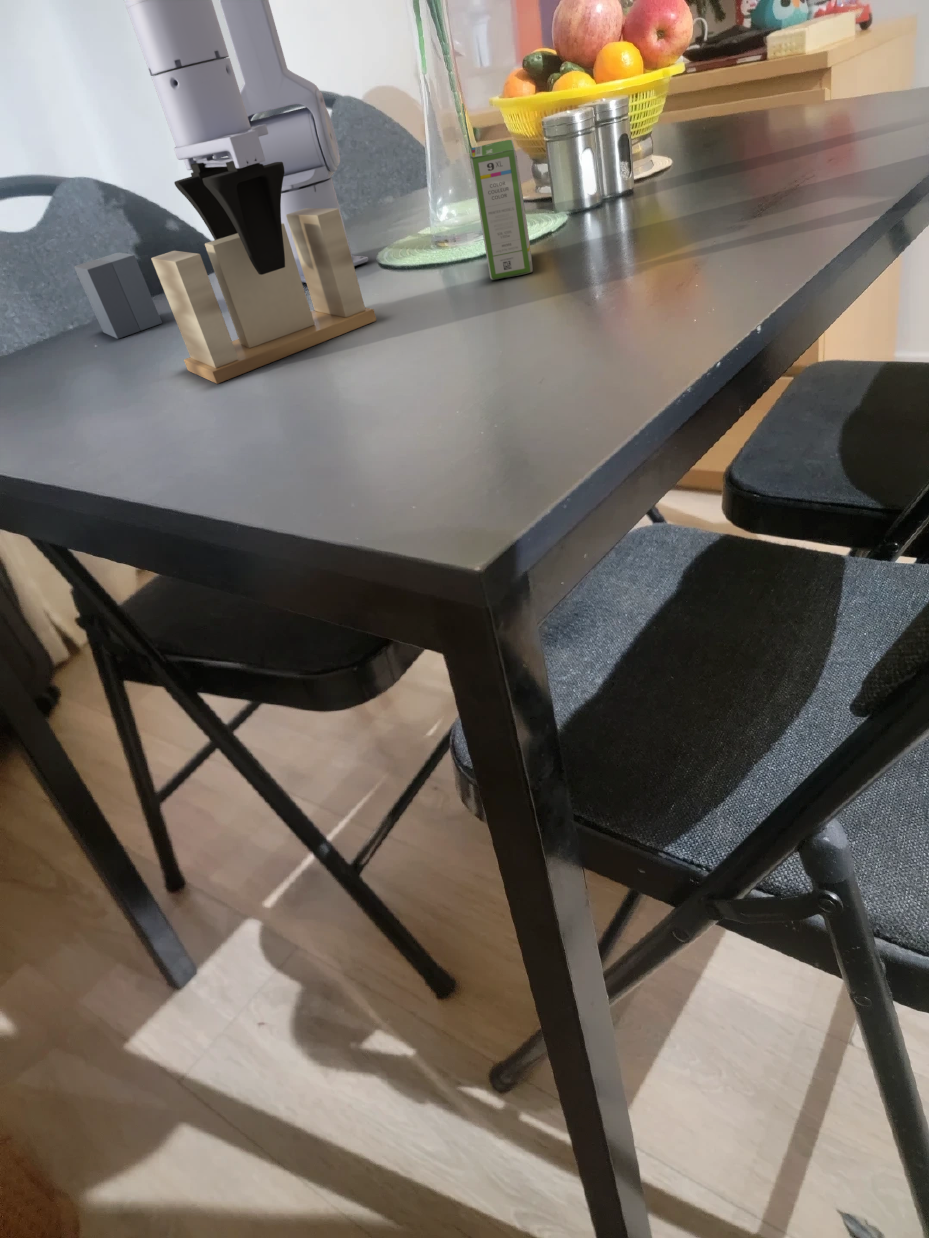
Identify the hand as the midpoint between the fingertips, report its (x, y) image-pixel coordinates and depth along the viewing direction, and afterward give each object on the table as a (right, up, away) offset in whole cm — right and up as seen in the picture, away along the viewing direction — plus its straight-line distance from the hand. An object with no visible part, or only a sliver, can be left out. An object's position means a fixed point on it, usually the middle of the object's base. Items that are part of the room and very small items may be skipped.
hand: (256, 266), depth 66 cm
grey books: (-19, +3, +23) cm, 30 cm away
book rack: (+1, -5, +4) cm, 6 cm away
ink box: (+21, +4, +9) cm, 23 cm away
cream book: (+1, -4, +3) cm, 5 cm away
